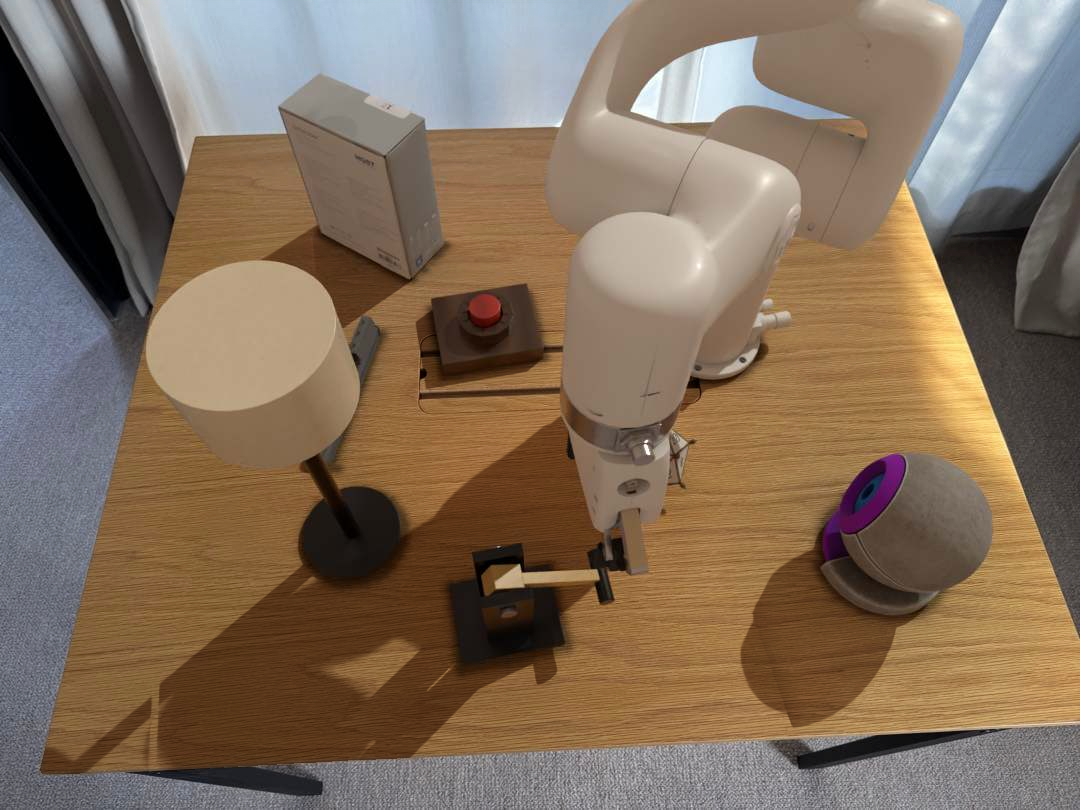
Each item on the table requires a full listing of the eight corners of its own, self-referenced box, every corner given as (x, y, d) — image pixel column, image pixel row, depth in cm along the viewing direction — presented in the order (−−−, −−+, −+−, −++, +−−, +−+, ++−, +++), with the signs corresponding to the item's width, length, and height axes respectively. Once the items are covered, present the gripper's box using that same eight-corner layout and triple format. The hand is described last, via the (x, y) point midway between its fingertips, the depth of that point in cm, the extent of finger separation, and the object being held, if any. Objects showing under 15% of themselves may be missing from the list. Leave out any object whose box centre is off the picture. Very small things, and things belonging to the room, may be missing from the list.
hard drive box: (446, 244, 101) (428, 118, 84) (411, 282, 98) (384, 159, 81) (354, 198, 105) (319, 69, 88) (317, 233, 102) (274, 106, 85)
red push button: (497, 301, 92) (497, 291, 90) (503, 324, 90) (502, 315, 88) (467, 305, 91) (466, 296, 90) (472, 329, 90) (471, 320, 88)
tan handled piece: (594, 555, 74) (606, 545, 72) (607, 606, 71) (620, 597, 69) (478, 560, 68) (488, 549, 66) (487, 615, 65) (498, 605, 64)
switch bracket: (547, 568, 79) (549, 520, 68) (565, 646, 74) (570, 608, 64) (450, 587, 77) (436, 542, 66) (463, 668, 73) (450, 633, 62)
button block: (527, 294, 97) (526, 273, 93) (543, 358, 92) (543, 338, 88) (432, 309, 96) (428, 288, 92) (444, 375, 91) (440, 356, 87)
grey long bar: (335, 472, 84) (326, 455, 81) (312, 468, 84) (302, 450, 81) (386, 336, 93) (380, 315, 90) (365, 332, 94) (358, 311, 90)
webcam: (841, 476, 84) (896, 406, 71) (958, 532, 81) (1038, 470, 68) (798, 575, 78) (850, 518, 65) (922, 640, 75) (1002, 594, 62)
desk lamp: (405, 474, 84) (329, 248, 53) (419, 579, 78) (342, 392, 47) (294, 495, 83) (149, 274, 52) (299, 603, 77) (139, 427, 46)
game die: (639, 470, 88) (658, 390, 85) (697, 505, 83) (721, 421, 79) (585, 486, 82) (603, 402, 79) (644, 525, 77) (666, 436, 73)
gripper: (723, 506, 43) (674, 600, 58) (642, 277, 52) (617, 408, 67) (594, 531, 43) (578, 619, 57) (533, 293, 51) (532, 422, 66)
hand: (599, 505), depth 62 cm, fingers open, 9 cm apart
